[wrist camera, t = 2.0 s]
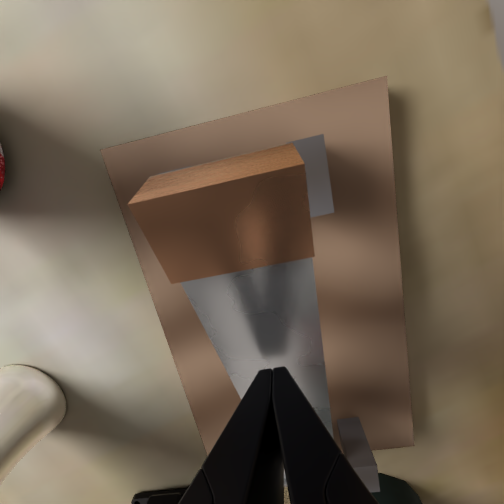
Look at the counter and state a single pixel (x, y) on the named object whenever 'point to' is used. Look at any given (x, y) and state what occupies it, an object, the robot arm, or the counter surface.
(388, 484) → the wine bottle
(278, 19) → the counter surface
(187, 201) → the latch arm
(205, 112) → the counter surface
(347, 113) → the latch board
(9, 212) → the counter surface
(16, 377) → the beer glass
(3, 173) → the soda can
